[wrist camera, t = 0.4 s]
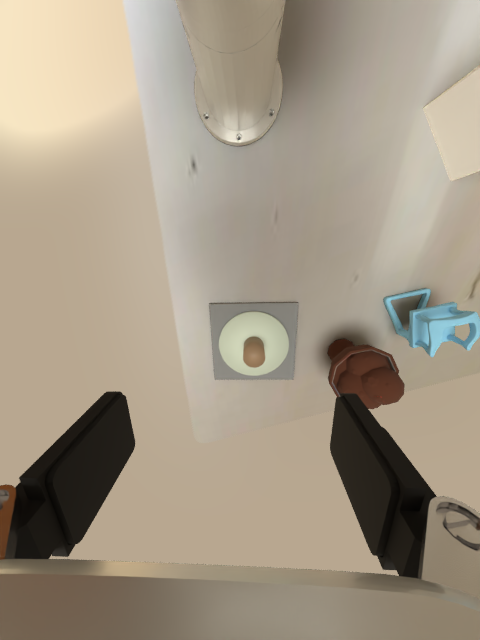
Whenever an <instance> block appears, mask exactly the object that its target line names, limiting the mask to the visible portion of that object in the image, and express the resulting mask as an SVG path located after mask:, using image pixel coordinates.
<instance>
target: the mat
mask: <svg viewBox="0 0 480 640" xmlns="http://www.w3.org/2000/svg"><path fill="white" fill-rule="evenodd" d="M209 309H210V322H211V336H212V349H213V363H214V377H215V380H294V364H295V348H296V333H297V317H298V302H269V303H210V304H209ZM248 311H259V312H264V313H267V314H269V315H272V316H273V317H275V318H276V319H277V320H279V321H280V323H281V324H282V325H283V326H284V328H285V330H286V332H287V335H288V339H289V349H288V353H287V355H286V358H285V359H284V361H283V362H282V363H281V365H280V366H279V367H277V368H276V369H275V370H273V371H271V372H269V373H267V374H263V375H258V376H250V375H244V374H241V373H239V372H237V371H235V370H233V369H232V368H230V367H229V366H228V365H227V364H226V362H225V361H224V360H223V358H222V356H221V354H220V350H219V338H220V335H221V332H222V329H223V328H224V326H225V325H226V323H227V322H228V321H229V320H230V319H232V318H233V317H235V316H236V315H238V314H241V313H244V312H248Z"/></svg>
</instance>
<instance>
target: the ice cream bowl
mask: <svg viewBox="0 0 480 640" xmlns="http://www.w3.org/2000/svg"><path fill="white" fill-rule="evenodd" d="M328 355H329V357H330V359H331V360H332V363H331V367H330V372H329V376H328V380H329V384H330V385H331V387H332V389H333V391H334V392H335V394H336V396H337V397H340V395H341V394H342V393H355V394H357V395H358V396H359V398H360V399H361V400H362V402H363V403H364V404H365V406H366V407H367V408H368V409H374V408H378V407H379V406H380V405H381V404H382V405H387V404H391V403H395V402H398V401H399V399H400V398H401V397H402V396H403V394H404V383H403V381H402V380H401V378H400V377H399V375H398V373H399V370H398V368H397V366H396V363H395V361H394V359H393V357H392V355H391V354H389V353H386V352H384V351H382V350H379V349H377V348H374V347H372V346H370V345H358V346H354V345H353V343H352V341H349V340H347V339H340V340H336V341H334V342H333V343H332V344H331V345H330V346H329V350H328Z"/></svg>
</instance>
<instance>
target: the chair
mask: <svg viewBox="0 0 480 640" xmlns="http://www.w3.org/2000/svg"><path fill="white" fill-rule="evenodd" d="M430 293H431V290H430V289H426V288H424V289H419V290H415V291H410V292H406V293H402V294H397V295H393V296H388V297H385V298H384V299H383V300H384V304H385V306H386V309H387V311H388V313H389V315H390V317H391V320H392V322H393V324H394V327H395V329H396V333H397V334H399V335H401V336H403V337H405V338H406V339H407V340H408V341H409V346H411V347H412V348H415V347H423V348H424V349H425V351H426V352H427V353H428V354H429V355H430V356H431V357H434V355H435V352H436V350H437V349H438V348H439V346H440V344H441V342H447V341H453V342H456V343H458V344H460V345H462V346H463V347H464V348H465V349H467V350H470V349H471V347H472V345H473V344H474V342H475V341H476V340H477V339H478V338H479V337H480V319H479V316H478V314H477V312H471V311H459V310H457V303H454V302H450V303H445V304H441V305H437V306H433V307H428V308H425V307H426V305H427V302H428V299H429V297H430ZM419 294H423V295H422V298H421V300H420V302H419V305H418V307H417V310H412V311H410V316H409V318H410V324H409V329H408V330H404V329H403V327H402V324H401V322H400V320H399V318H398V316H397V314H396V312H395V310H394V308H393V306H392V304H391V302H390V301H391V300H395V299H400V298H405V297H410V296H414V295H419ZM468 323H469V326H470V334H469V336H468V338H467V339H466V340H465V341H462V340H461V339H459V338H457V337H455V326H458V325H464V324H468Z"/></svg>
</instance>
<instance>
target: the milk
mask: <svg viewBox="0 0 480 640" xmlns="http://www.w3.org/2000/svg"><path fill="white" fill-rule="evenodd" d="M423 110H424V112H425V115H426V118H427V120H428V123H429V126H430V128H431V131H432V134H433V136H434V139H435V142H436V144H437V147H438V150H439V152H440V155H441V158H442V160H443V163H444V166H445V168H446V171H447V174H448V176H449V179H450V181H453V180H456V179H459V178H462V177H465V176H467V175H470V174H473V173H476V172H479V171H480V65H479V66H478V67H476V68H475V69H474V70H473V71H471V72H470V73H469V74H467V75H466V76H465V77H463V78H462V79H461V80H459V81H458V82H457V83H455V84H454V85H453V86H451V87H450V88H449V89H447V90H446V91H445V92H443V93H442V94H441V95H440V96H438V97H437V98H436V99H434V100H433V101H432V102H430V103H429V104H428V105H426V106H425V107H424V108H423Z"/></svg>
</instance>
